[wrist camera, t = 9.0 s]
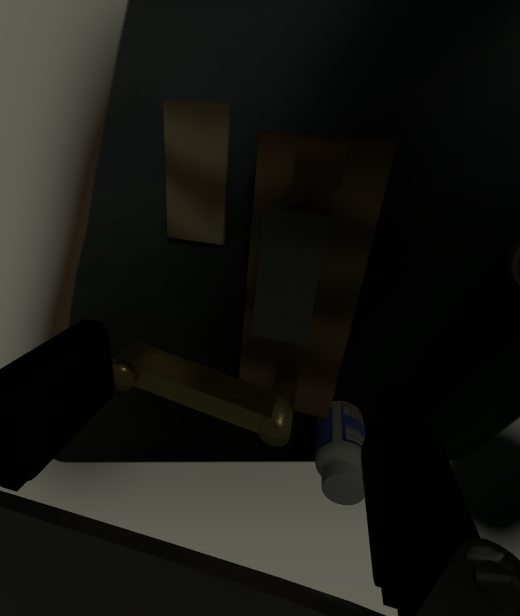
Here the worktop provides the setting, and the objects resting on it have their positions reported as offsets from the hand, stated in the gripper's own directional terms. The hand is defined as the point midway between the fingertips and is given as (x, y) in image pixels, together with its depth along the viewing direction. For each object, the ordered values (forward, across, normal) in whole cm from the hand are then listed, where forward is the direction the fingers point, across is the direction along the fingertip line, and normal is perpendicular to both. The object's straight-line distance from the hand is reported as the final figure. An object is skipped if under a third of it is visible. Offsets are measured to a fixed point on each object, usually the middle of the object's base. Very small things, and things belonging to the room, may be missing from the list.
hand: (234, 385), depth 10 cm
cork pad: (+22, +10, -5) cm, 25 cm away
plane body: (+22, -1, +4) cm, 22 cm away
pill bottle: (+22, -8, +20) cm, 31 cm away
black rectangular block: (+18, 0, +1) cm, 18 cm away
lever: (+18, +5, +11) cm, 21 cm away
